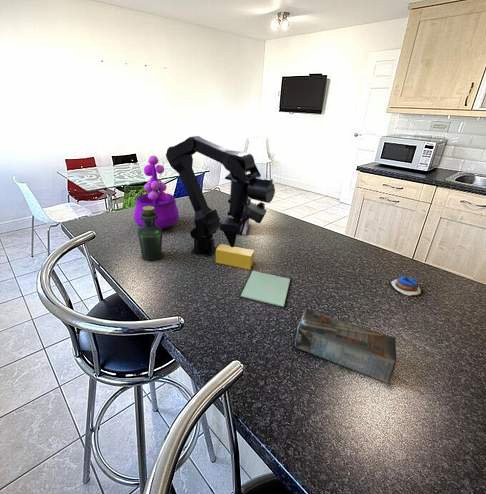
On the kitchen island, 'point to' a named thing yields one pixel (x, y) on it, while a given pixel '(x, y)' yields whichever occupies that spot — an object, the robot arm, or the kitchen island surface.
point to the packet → (234, 256)
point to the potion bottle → (150, 235)
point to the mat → (266, 288)
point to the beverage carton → (347, 345)
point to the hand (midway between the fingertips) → (236, 240)
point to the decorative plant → (156, 198)
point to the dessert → (406, 285)
